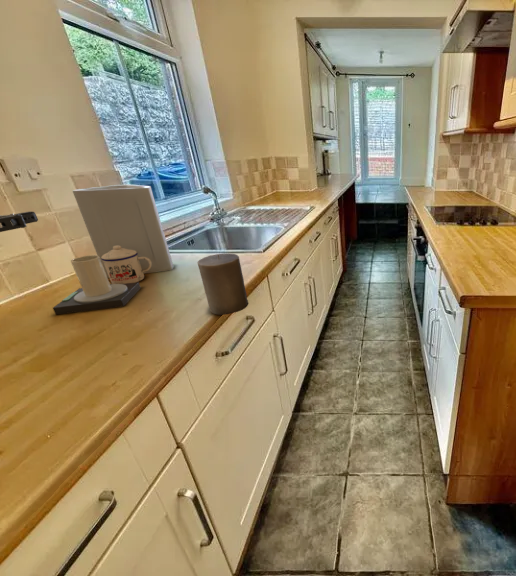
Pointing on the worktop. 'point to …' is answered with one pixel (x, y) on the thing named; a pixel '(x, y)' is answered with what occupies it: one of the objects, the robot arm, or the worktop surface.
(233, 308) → the pillar candle
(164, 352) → the worktop surface
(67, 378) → the worktop surface
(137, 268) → the teacup with lid
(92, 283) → the cup
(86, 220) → the light grey box
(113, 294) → the scale
